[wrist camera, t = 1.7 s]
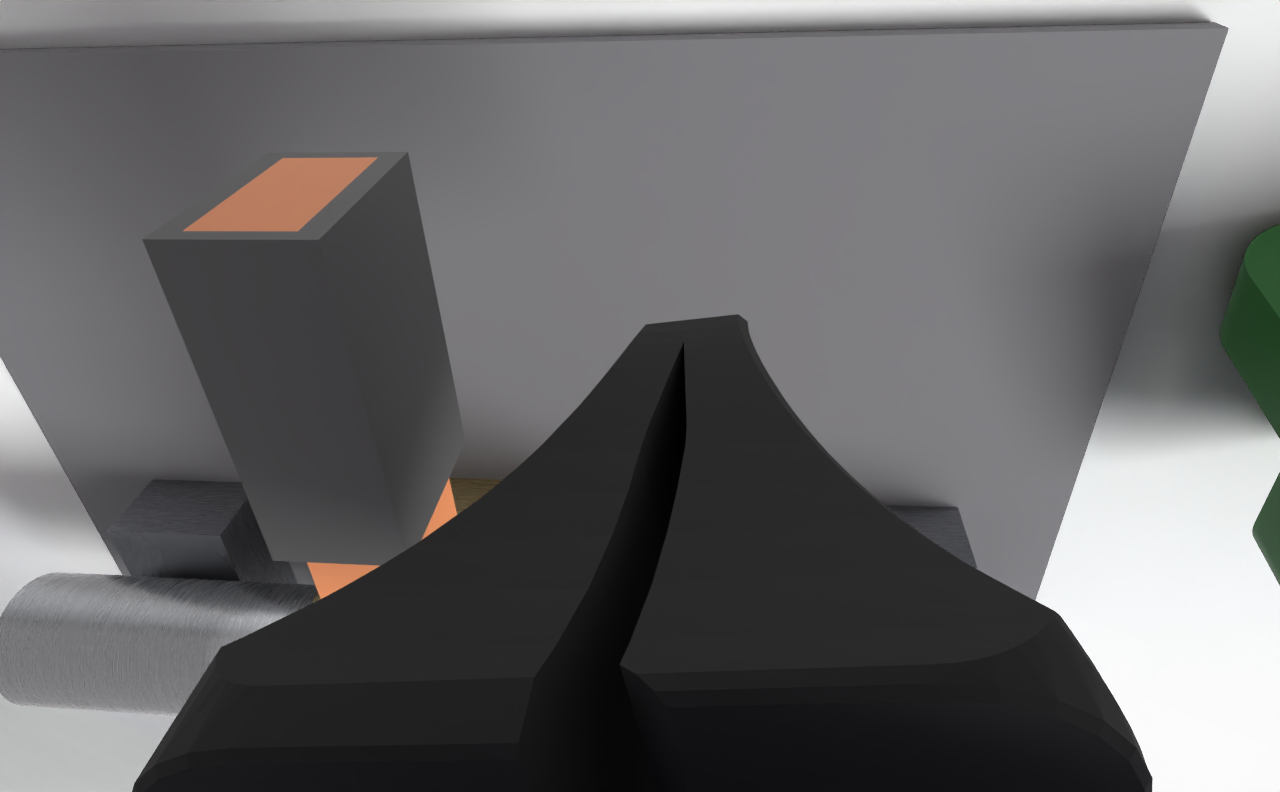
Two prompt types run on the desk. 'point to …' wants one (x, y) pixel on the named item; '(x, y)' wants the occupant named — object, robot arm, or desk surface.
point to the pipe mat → (641, 234)
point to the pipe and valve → (195, 599)
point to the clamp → (1259, 359)
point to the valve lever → (320, 353)
